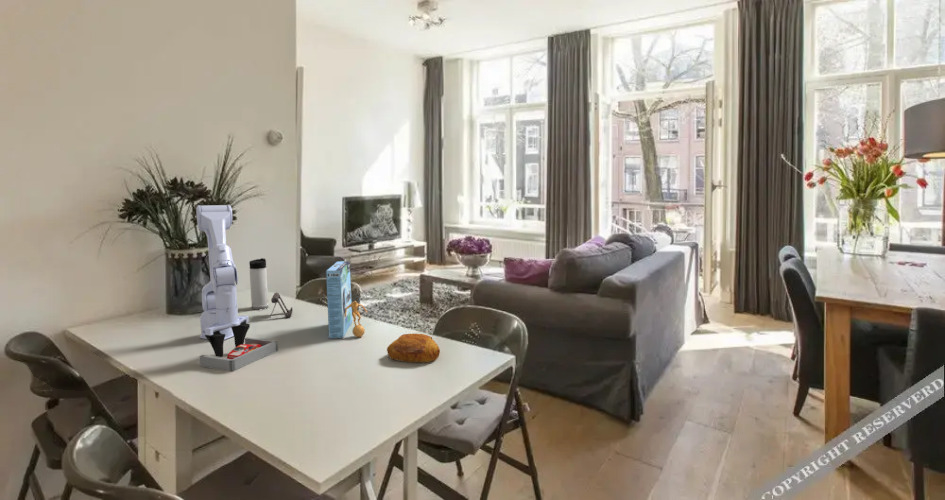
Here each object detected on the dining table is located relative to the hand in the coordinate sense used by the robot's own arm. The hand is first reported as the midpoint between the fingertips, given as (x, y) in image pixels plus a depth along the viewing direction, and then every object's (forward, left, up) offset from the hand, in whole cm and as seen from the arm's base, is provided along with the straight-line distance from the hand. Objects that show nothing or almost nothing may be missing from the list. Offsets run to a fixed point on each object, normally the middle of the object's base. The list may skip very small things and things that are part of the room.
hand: (229, 351), depth 149 cm
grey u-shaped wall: (+4, 0, -1) cm, 4 cm away
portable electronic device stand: (-16, +42, -2) cm, 45 cm away
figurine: (+25, +30, -2) cm, 39 cm away
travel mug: (-32, +49, -2) cm, 59 cm away
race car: (+4, +1, -2) cm, 5 cm away
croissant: (+51, +19, -2) cm, 55 cm away
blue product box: (+16, +34, -2) cm, 37 cm away
